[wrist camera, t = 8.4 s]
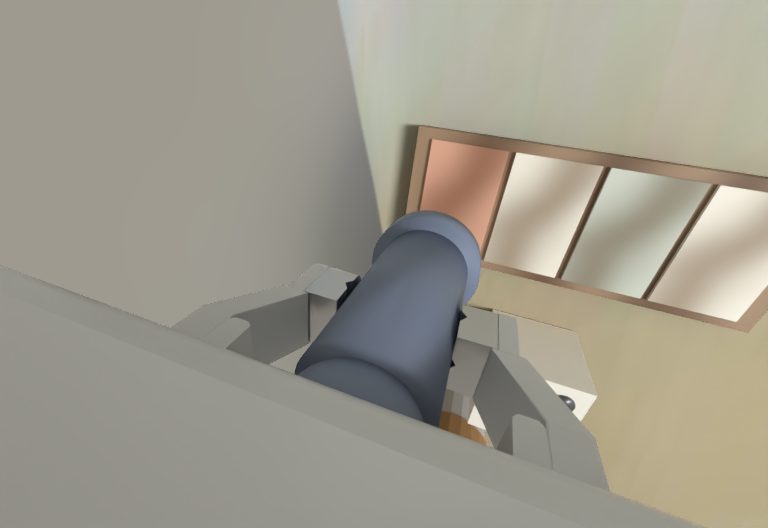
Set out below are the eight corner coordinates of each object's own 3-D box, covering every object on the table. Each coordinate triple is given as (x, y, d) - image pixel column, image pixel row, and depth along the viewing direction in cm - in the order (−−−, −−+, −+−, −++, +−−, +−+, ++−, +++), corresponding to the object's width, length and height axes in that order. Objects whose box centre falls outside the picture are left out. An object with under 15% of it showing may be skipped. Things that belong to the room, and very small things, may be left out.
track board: (850, 189, 15) (874, 195, 14) (737, 322, 19) (750, 334, 18) (422, 125, 20) (418, 126, 19) (404, 242, 24) (399, 248, 23)
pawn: (496, 287, 12) (487, 639, 4) (406, 310, 14) (283, 583, 6) (456, 193, 11) (341, 433, 3) (364, 231, 13) (147, 442, 5)
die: (576, 332, 23) (597, 397, 18) (546, 387, 26) (557, 457, 21) (492, 309, 24) (490, 363, 19) (473, 364, 27) (467, 424, 22)
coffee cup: (470, 446, 32) (449, 670, 19) (396, 406, 33) (331, 595, 20) (513, 400, 28) (523, 651, 15) (427, 356, 29) (368, 556, 16)
